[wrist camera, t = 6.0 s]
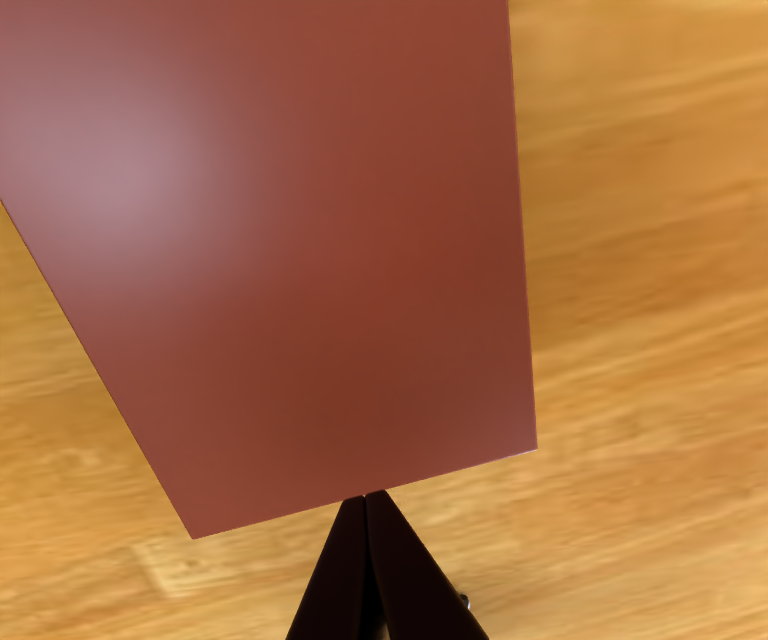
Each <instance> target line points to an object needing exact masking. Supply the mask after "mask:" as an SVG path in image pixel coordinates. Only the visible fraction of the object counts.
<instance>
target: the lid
mask: <svg viewBox="0 0 768 640" xmlns="http://www.w3.org/2000/svg"><path fill="white" fill-rule="evenodd" d="M0 201H1V203H2V204H3V206H4V208H5V210H6V211H7V213H8V215H9V217H10V218H11V220H12V222H13V224H14V226H15V227H16V229H17V231H18V233H19V234H20V236H21V238H22V240H23V241H24V243H25V245H26V247H27V249H28V250H29V252H30V254H31V256H32V257H33V259H34V261H35V263H36V264H37V266H38V268H39V270H40V271H41V273H42V275H43V277H44V279H45V280H46V282H47V284H48V286H49V287H50V289H51V291H52V293H53V294H54V296H55V298H56V300H57V301H58V303H59V305H60V307H61V309H62V310H63V312H64V314H65V316H66V317H67V319H68V321H69V323H70V324H71V326H72V328H73V330H74V332H75V333H76V335H77V337H78V339H79V340H80V342H81V344H82V346H83V347H84V349H85V351H86V353H87V354H88V356H89V358H90V360H91V362H92V363H93V365H94V367H95V369H96V370H97V372H98V374H99V376H100V377H101V379H102V381H103V383H104V385H105V386H106V388H107V390H108V392H109V393H110V395H111V397H112V399H113V400H114V402H115V404H116V406H117V407H118V409H119V411H120V413H121V415H122V416H123V418H124V420H125V422H126V423H127V425H128V427H129V429H130V430H131V432H132V434H133V436H134V437H135V439H136V441H137V443H138V445H139V446H140V448H141V450H142V452H143V453H144V455H145V457H146V459H147V460H148V462H149V464H150V466H151V468H152V469H153V471H154V473H155V475H156V476H157V478H158V480H159V482H160V483H161V485H162V487H163V489H164V490H165V492H166V494H167V496H168V498H169V499H170V501H171V503H172V505H173V506H174V508H175V510H176V512H177V513H178V515H179V517H180V519H181V521H182V522H183V524H184V526H185V528H186V529H187V531H188V533H189V535H190V536H191V538H192V539H198V538H202V537H205V536H209V535H213V534H217V533H221V532H225V531H228V530H232V529H236V528H240V527H244V526H248V525H251V524H255V523H259V522H263V521H267V520H271V519H274V518H278V517H282V516H286V515H290V514H294V513H297V512H301V511H305V510H309V509H313V508H316V507H320V506H324V505H328V504H332V503H336V502H339V501H343V500H345V499H347V498H351V497H355V496H359V495H366V494H367V493H370V492H374V491H378V490H381V489H384V490H385V489H389V488H393V487H397V486H401V485H405V484H408V483H412V482H416V481H420V480H424V479H428V478H431V477H435V476H439V475H443V474H447V473H451V472H454V471H458V470H462V469H466V468H470V467H473V466H477V465H481V464H485V463H489V462H493V461H496V460H500V459H504V458H508V457H512V456H516V455H519V454H523V453H527V452H531V451H535V450H537V449H538V447H537V432H536V417H535V402H534V387H533V372H532V357H531V342H530V327H529V312H528V297H527V282H526V266H525V251H524V236H523V221H522V206H521V191H520V176H519V161H518V146H517V131H516V116H515V101H514V86H513V71H512V56H511V41H510V26H509V11H508V0H0Z"/></svg>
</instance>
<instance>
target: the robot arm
mask: <svg viewBox="0 0 768 640" xmlns="http://www.w3.org/2000/svg"><path fill="white" fill-rule="evenodd" d="M469 605H470V603H469V600H468V597H467V596H466V595H459V594H458V593H457V592H456V590H455V589H454V587H453V586H452V584H451V583H450V582H449V580H448V579H447V577H446V576H445V574H444V573H443V572H442V570H441V569H440V567H439V566H438V564H437V563H436V562H435V560H434V559H433V557H432V556H431V554H430V553H429V551H428V550H427V549H426V547H425V546H424V544H423V543H422V541H421V540H420V539H419V537H418V536H417V534H416V533H415V531H414V530H413V529H412V527H411V526H410V524H409V523H408V521H407V520H406V519H405V517H404V516H403V514H402V513H401V511H400V510H399V509H398V507H397V506H396V504H395V503H394V501H393V500H392V499H391V497H390V496H389V494H388V493H387V491H385V490H384V489H381V490H378V491H374V492H370V493H367V494H366V495H365V497H364V496H363V495H359V496H355V497H351V498H347V499H345V500H344V501H343V502H342V504H341V507H340V509H339V512H338V514H337V516H336V519H335V521H334V524H333V526H332V528H331V531H330V533H329V536H328V538H327V540H326V543H325V545H324V548H323V550H322V552H321V555H320V557H319V560H318V562H317V564H316V567H315V569H314V572H313V574H312V577H311V579H310V581H309V584H308V586H307V589H306V591H305V593H304V596H303V598H302V601H301V603H300V605H299V608H298V610H297V613H296V615H295V617H294V620H293V622H292V625H291V627H290V629H289V632H288V634H287V637H286V639H285V640H489V637H488V636H487V635H486V633H485V632H484V630H483V629H482V627H481V626H480V624H479V623H478V622H477V620H476V619H475V617H474V616H473V614H472V613H471V612H470V610H469Z"/></svg>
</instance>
